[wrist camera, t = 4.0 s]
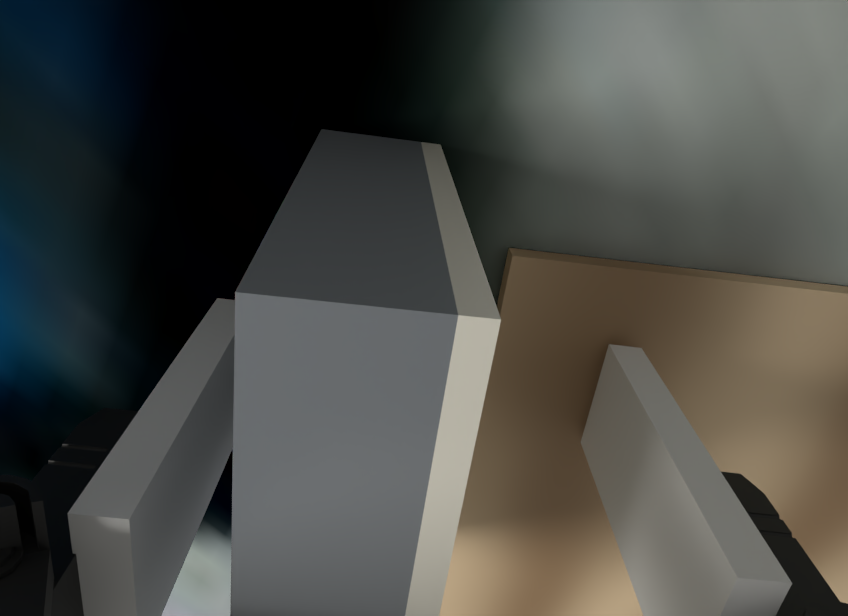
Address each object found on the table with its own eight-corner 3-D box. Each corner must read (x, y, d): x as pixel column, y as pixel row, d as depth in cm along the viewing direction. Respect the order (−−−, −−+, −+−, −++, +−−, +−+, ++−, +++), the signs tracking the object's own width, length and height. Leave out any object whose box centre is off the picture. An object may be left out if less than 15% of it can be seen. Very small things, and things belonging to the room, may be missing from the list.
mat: (422, 671, 20) (423, 686, 20) (508, 247, 14) (512, 255, 14) (950, 695, 22) (962, 710, 21) (1222, 329, 16) (1246, 339, 15)
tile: (295, 511, 17) (226, 883, 10) (321, 128, 13) (235, 292, 6) (386, 517, 17) (382, 885, 10) (440, 144, 13) (501, 319, 6)
